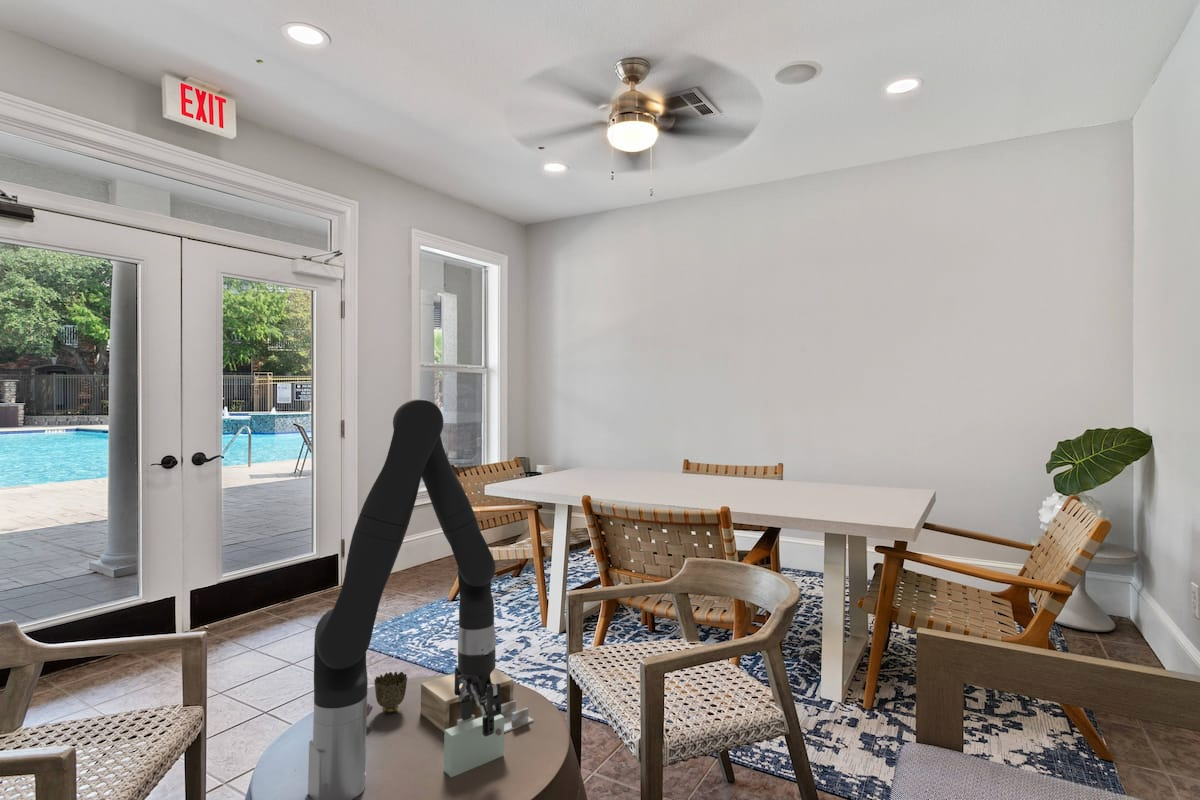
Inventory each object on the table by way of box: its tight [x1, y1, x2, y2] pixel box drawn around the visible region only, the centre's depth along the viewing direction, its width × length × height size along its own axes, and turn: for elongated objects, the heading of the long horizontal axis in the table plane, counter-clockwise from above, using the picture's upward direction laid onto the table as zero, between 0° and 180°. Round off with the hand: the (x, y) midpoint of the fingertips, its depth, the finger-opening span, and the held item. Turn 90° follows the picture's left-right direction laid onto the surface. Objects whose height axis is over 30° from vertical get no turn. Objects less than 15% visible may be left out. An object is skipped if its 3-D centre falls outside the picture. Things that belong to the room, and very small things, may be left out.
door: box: [443, 714, 505, 778], centre depth 125 cm, size 12×4×8 cm, turn 132°
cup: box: [374, 671, 408, 715], centre depth 146 cm, size 8×7×8 cm
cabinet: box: [420, 668, 534, 734], centre depth 144 cm, size 18×20×7 cm
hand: (477, 726), depth 125 cm, fingers open, 8 cm apart
